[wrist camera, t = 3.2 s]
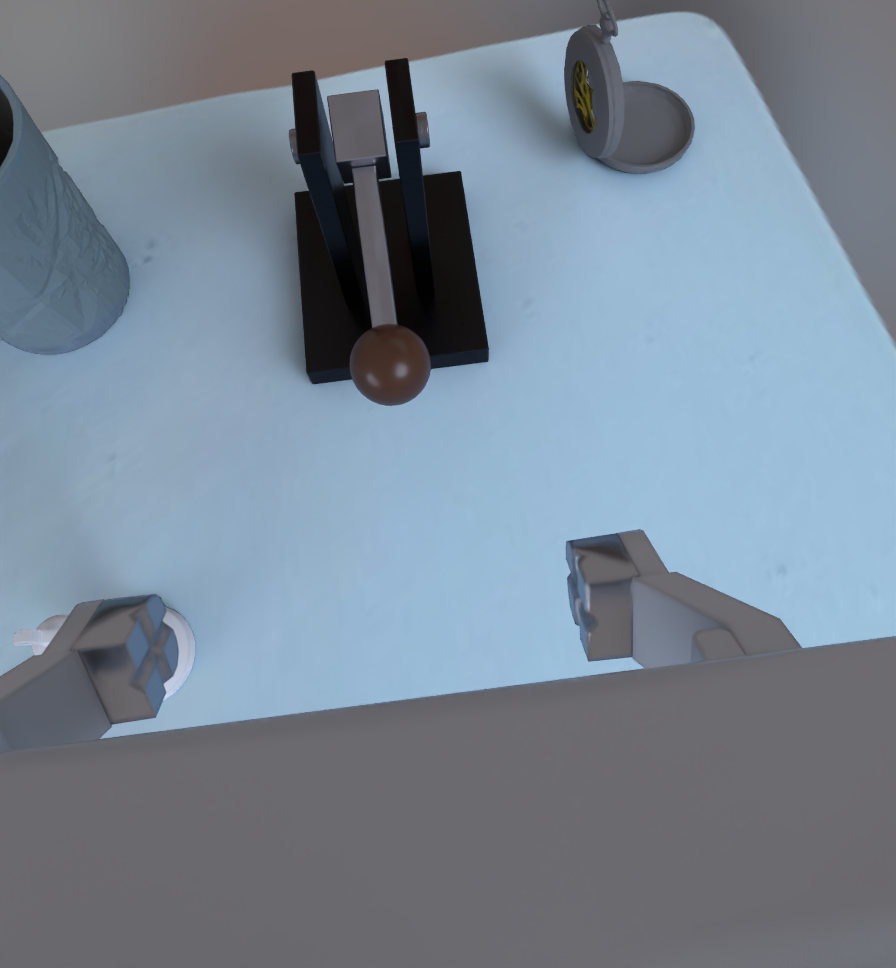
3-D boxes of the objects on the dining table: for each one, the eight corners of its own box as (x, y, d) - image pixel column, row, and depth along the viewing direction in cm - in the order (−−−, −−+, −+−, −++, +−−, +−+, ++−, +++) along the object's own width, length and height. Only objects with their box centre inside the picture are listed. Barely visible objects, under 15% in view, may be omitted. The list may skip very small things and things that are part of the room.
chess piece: (102, 609, 36) (-32, 574, 27) (197, 601, 36) (96, 564, 27) (95, 709, 35) (-50, 710, 25) (193, 702, 35) (86, 699, 25)
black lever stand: (488, 362, 40) (493, 208, 27) (312, 385, 40) (238, 241, 27) (461, 188, 43) (454, -16, 31) (299, 208, 43) (230, 13, 31)
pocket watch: (710, 127, 44) (775, -34, 34) (633, 217, 42) (678, 74, 33) (602, 67, 46) (634, -102, 36) (524, 151, 44) (536, -3, 34)
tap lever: (436, 403, 33) (435, 396, 30) (360, 413, 33) (350, 407, 30) (399, 120, 33) (393, 78, 29) (322, 130, 33) (307, 90, 29)
